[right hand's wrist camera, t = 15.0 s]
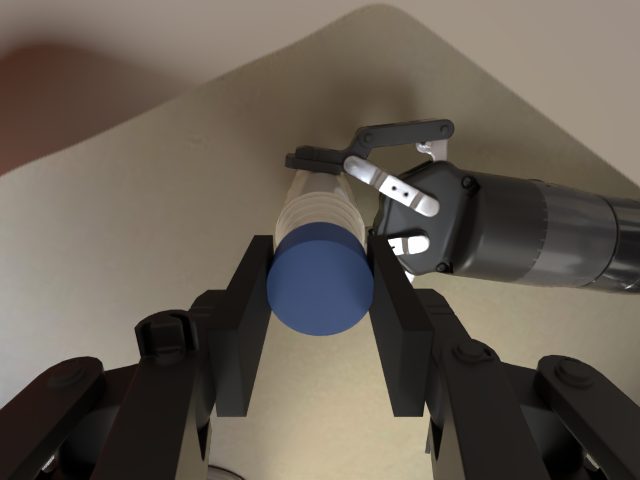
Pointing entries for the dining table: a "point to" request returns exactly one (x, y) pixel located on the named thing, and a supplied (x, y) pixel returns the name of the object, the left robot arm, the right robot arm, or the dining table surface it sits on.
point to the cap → (320, 280)
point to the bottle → (319, 204)
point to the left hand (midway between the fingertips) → (283, 198)
